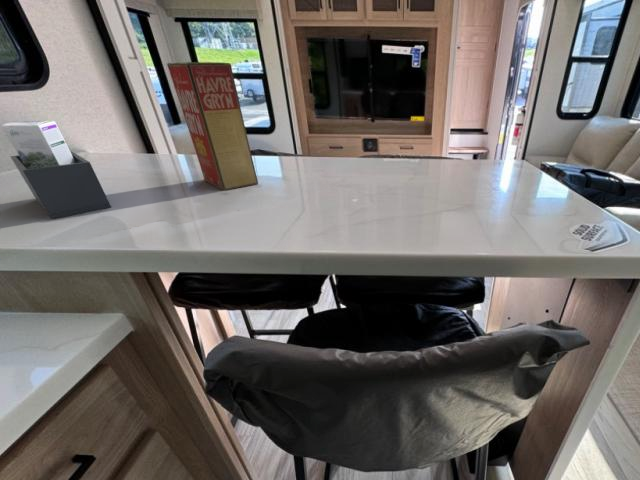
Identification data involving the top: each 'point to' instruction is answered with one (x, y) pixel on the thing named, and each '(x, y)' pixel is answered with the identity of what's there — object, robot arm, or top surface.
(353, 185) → the top surface
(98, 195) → the dark grey open box
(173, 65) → the food packaging
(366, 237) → the top surface
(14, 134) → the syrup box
